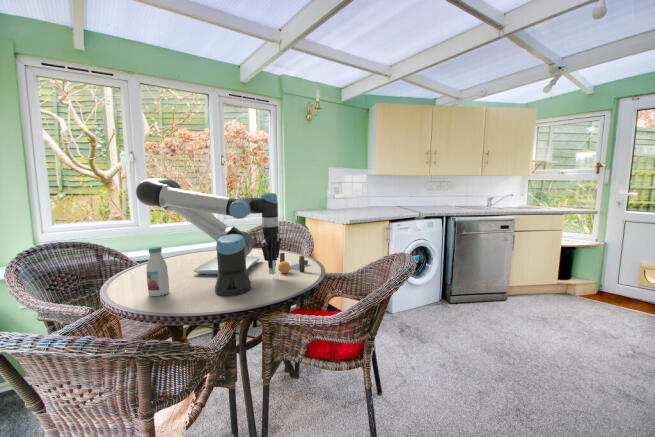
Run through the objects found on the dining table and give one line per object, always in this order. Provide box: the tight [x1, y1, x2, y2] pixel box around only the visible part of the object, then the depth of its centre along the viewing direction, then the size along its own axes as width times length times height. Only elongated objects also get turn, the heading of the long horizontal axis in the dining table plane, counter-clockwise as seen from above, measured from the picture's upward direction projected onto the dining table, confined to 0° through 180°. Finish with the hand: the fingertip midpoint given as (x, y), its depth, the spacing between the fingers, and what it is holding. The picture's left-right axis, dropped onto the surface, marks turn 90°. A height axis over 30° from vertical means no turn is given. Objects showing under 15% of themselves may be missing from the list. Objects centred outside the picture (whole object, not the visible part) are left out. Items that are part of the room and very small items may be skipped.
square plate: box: [192, 255, 262, 275], centre depth 158 cm, size 27×27×4 cm
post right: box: [298, 255, 306, 273], centre depth 151 cm, size 3×3×8 cm
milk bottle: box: [145, 246, 170, 297], centre depth 123 cm, size 8×8×20 cm
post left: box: [279, 252, 286, 264], centre depth 158 cm, size 3×3×8 cm
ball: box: [277, 261, 291, 274], centre depth 149 cm, size 6×6×6 cm
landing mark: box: [290, 262, 309, 271], centre depth 160 cm, size 8×8×1 cm
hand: (272, 273), depth 141 cm, fingers closed
